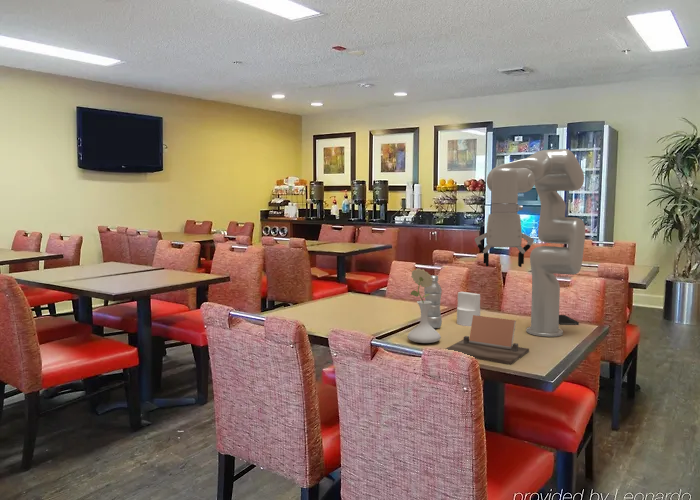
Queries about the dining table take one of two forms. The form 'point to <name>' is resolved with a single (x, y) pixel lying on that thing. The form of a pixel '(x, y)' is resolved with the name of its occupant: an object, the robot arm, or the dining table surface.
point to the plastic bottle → (434, 302)
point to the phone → (567, 320)
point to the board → (489, 351)
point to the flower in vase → (423, 311)
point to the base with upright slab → (467, 308)
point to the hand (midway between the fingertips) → (503, 266)
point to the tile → (492, 332)
